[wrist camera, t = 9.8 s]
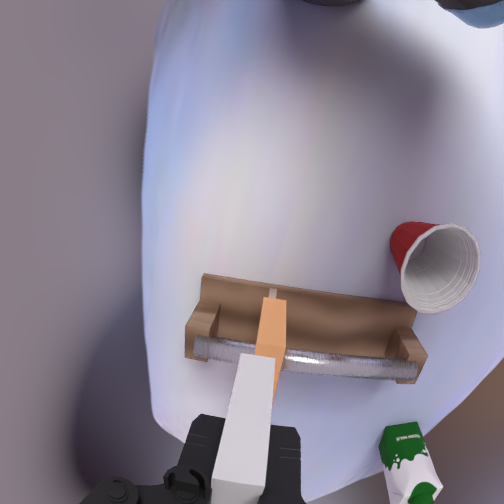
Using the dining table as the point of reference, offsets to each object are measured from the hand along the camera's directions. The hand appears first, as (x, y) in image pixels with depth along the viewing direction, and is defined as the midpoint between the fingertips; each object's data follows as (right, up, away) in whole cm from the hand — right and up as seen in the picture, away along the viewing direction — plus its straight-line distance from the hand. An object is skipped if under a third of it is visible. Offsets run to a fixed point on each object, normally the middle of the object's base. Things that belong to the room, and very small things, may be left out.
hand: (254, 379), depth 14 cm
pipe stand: (+8, -5, +33) cm, 34 cm away
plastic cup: (+22, +7, +28) cm, 36 cm away
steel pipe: (+7, -8, +26) cm, 28 cm away
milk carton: (+30, -32, +39) cm, 58 cm away
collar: (+2, -6, +30) cm, 30 cm away
